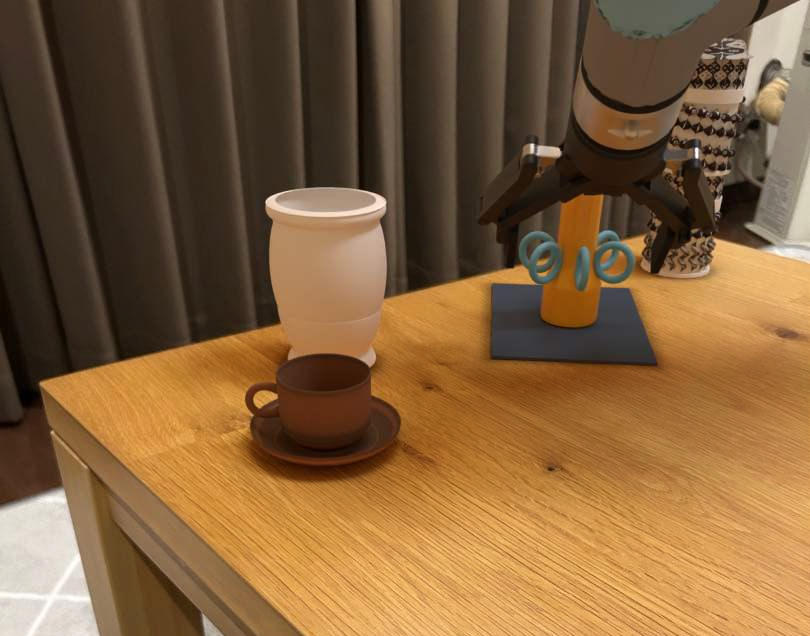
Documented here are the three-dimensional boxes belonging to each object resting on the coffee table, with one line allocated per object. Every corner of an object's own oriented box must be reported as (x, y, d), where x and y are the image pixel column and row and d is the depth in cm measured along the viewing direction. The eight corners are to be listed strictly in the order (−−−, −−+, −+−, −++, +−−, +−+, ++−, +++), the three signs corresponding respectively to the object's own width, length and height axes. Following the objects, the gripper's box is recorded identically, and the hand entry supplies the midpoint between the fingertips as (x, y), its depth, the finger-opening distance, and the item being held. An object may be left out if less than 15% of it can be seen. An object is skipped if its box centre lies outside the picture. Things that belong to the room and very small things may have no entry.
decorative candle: (635, 254, 113) (670, 34, 99) (708, 258, 112) (754, 36, 98) (638, 276, 106) (677, 41, 91) (717, 281, 105) (768, 44, 90)
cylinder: (557, 346, 86) (575, 188, 78) (493, 314, 94) (503, 166, 85) (644, 323, 92) (670, 173, 83) (578, 295, 99) (595, 154, 91)
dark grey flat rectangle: (657, 365, 83) (657, 362, 83) (491, 358, 85) (491, 355, 84) (628, 290, 102) (629, 288, 101) (492, 285, 103) (492, 282, 102)
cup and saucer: (274, 492, 64) (267, 417, 60) (237, 423, 73) (229, 353, 69) (423, 463, 67) (425, 390, 64) (370, 400, 77) (369, 334, 73)
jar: (404, 352, 86) (406, 193, 77) (356, 392, 78) (352, 220, 69) (311, 334, 89) (302, 180, 81) (256, 371, 81) (240, 205, 73)
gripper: (446, 151, 62) (448, 289, 83) (805, 161, 60) (715, 300, 81) (452, 58, 63) (453, 217, 84) (804, 65, 61) (716, 226, 82)
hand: (582, 258), depth 82 cm, fingers open, 13 cm apart
